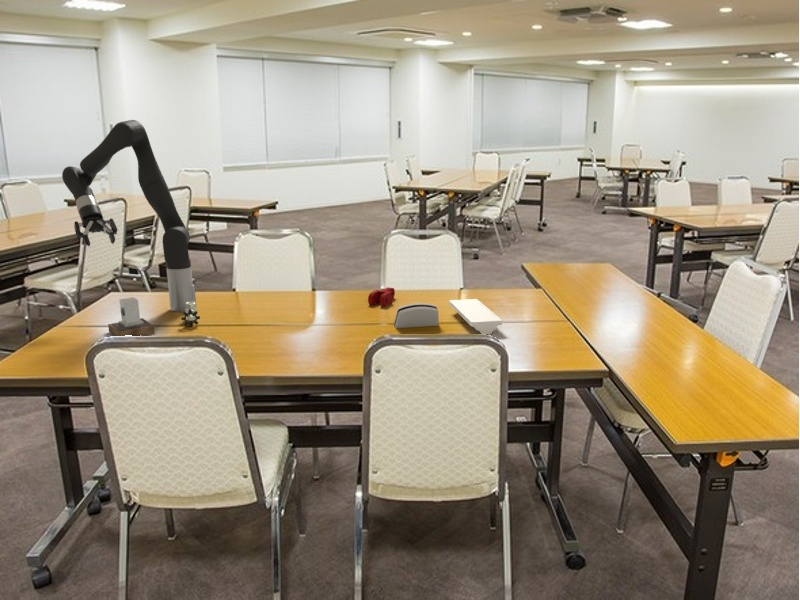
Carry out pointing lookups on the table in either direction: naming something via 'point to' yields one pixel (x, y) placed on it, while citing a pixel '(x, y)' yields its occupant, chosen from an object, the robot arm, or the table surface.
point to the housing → (130, 312)
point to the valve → (190, 314)
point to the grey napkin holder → (416, 315)
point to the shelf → (477, 315)
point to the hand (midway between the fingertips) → (101, 243)
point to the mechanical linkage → (381, 296)
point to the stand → (131, 329)
